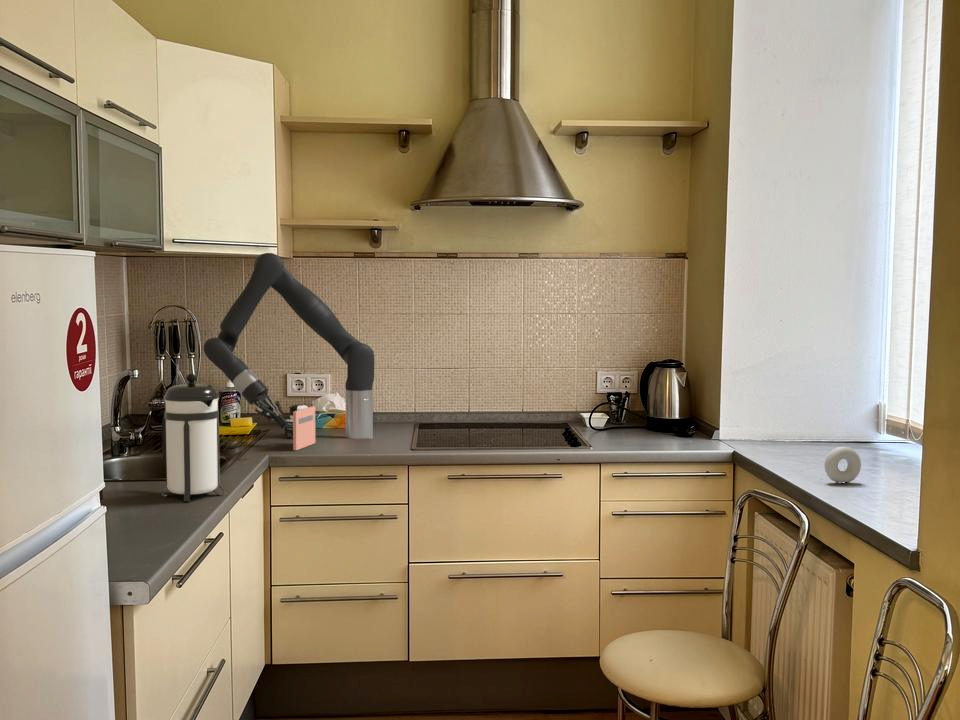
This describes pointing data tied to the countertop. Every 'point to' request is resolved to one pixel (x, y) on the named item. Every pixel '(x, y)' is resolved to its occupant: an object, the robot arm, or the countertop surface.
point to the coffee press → (191, 439)
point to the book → (303, 428)
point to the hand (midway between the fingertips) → (285, 426)
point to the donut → (852, 466)
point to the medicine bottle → (290, 421)
